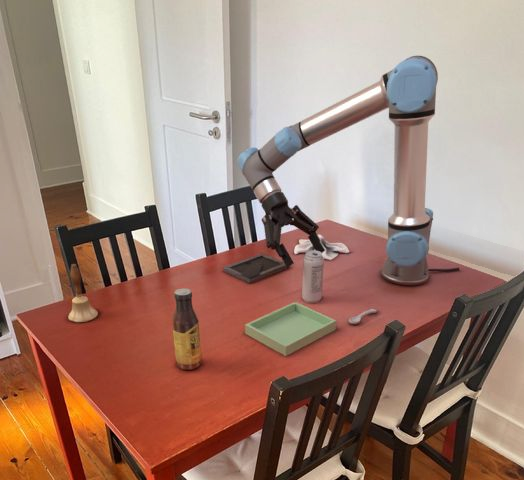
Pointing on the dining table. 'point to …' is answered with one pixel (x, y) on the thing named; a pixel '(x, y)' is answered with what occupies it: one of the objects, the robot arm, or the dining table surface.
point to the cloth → (330, 248)
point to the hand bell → (80, 301)
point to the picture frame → (255, 268)
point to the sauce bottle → (186, 331)
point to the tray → (290, 328)
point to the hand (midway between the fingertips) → (306, 259)
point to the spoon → (358, 318)
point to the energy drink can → (312, 276)
